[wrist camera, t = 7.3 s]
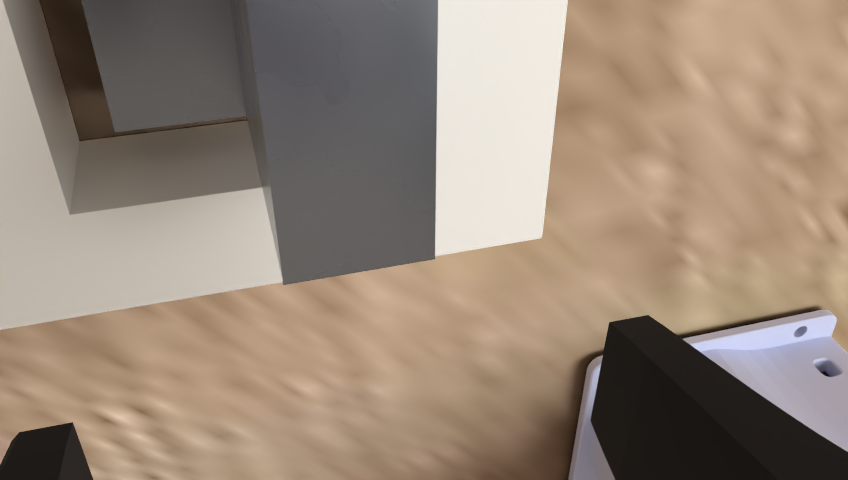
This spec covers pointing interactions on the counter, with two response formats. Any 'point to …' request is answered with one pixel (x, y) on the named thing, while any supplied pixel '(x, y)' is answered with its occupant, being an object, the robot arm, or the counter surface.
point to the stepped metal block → (296, 111)
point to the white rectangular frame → (247, 172)
